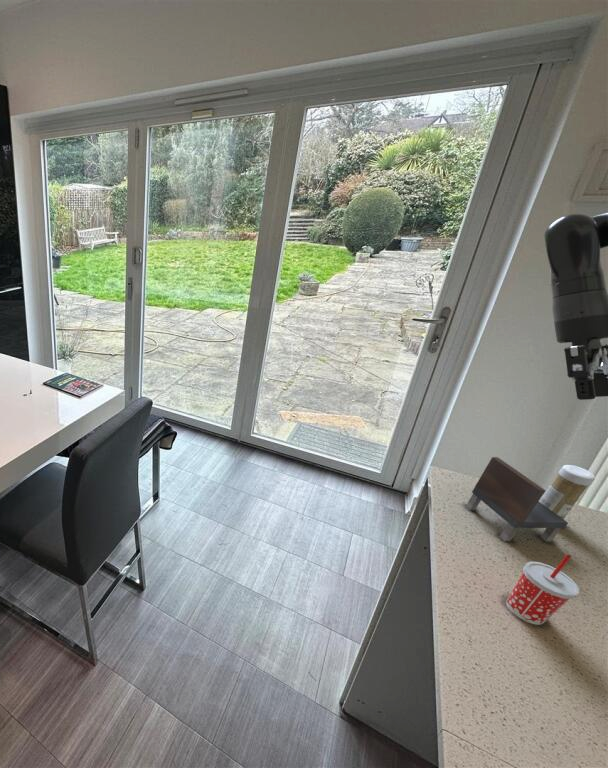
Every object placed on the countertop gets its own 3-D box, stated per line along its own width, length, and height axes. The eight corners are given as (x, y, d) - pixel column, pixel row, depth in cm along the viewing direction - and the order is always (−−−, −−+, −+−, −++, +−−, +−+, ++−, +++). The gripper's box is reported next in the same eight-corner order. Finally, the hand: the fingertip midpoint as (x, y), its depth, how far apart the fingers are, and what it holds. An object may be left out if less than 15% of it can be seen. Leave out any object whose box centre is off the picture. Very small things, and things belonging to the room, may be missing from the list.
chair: (506, 508, 90) (539, 457, 84) (551, 544, 82) (592, 491, 75) (462, 507, 90) (492, 456, 84) (503, 544, 81) (539, 490, 75)
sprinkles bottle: (562, 531, 85) (600, 481, 78) (533, 522, 87) (568, 473, 80) (554, 517, 88) (590, 468, 82) (526, 509, 90) (559, 461, 84)
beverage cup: (554, 620, 67) (604, 562, 61) (539, 638, 64) (591, 579, 58) (507, 591, 72) (549, 534, 65) (492, 606, 69) (534, 548, 63)
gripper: (598, 311, 74) (612, 399, 73) (623, 312, 81) (637, 394, 80) (540, 320, 81) (552, 401, 80) (568, 321, 87) (579, 396, 86)
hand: (594, 397), depth 80 cm, fingers open, 8 cm apart
